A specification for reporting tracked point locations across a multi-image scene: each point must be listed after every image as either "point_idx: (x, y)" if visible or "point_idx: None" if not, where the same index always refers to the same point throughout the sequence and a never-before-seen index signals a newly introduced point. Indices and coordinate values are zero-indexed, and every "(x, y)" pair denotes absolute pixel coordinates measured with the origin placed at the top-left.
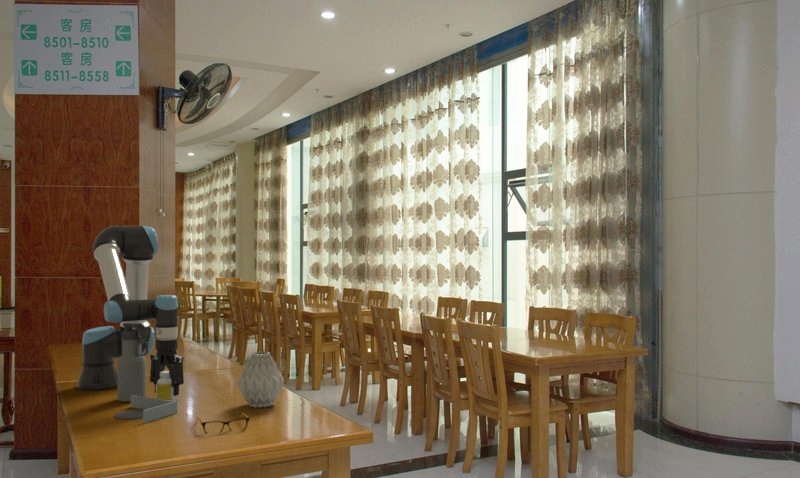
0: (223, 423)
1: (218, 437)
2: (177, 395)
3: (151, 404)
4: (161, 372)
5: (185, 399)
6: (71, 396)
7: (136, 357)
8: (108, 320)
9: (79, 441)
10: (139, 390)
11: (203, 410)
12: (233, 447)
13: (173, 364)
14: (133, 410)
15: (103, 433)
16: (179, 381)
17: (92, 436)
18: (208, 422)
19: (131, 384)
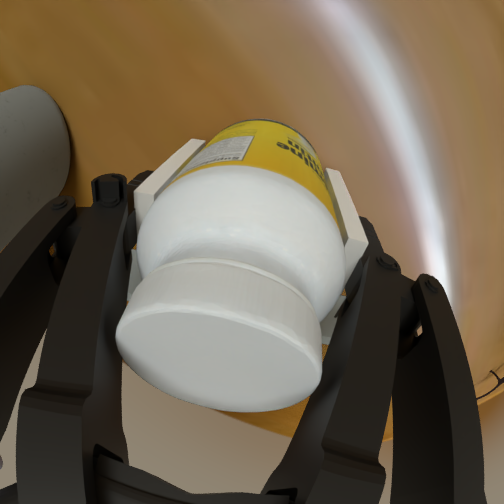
0: (498, 383)
1: (481, 385)
2: (348, 198)
3: None
4: (186, 398)
5: (306, 22)
6: None
7: None
8: None
9: (267, 429)
10: (38, 184)
11: (482, 252)
12: (489, 395)
13: (326, 498)
14: None
15: (277, 415)
16: (417, 340)
17: (269, 421)
18: (476, 399)
19: (9, 239)
